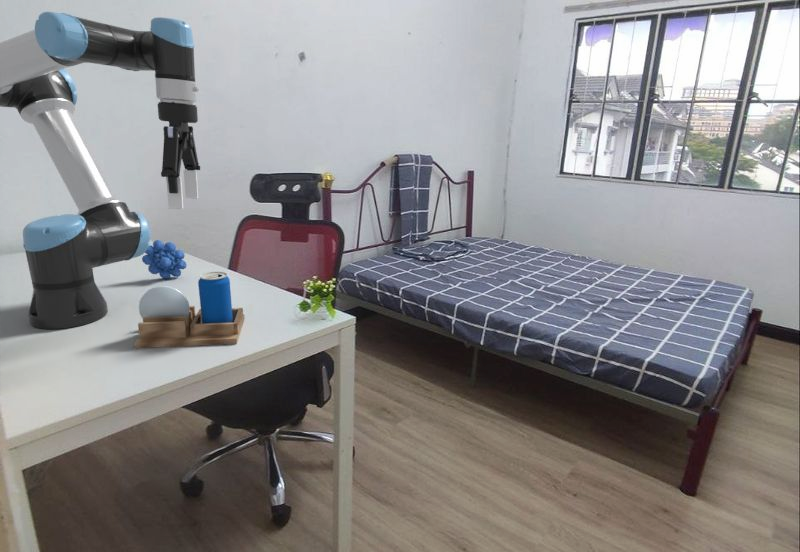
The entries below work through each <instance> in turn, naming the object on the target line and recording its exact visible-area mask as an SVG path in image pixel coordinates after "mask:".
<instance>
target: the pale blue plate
mask: <svg viewBox="0 0 800 552" xmlns="http://www.w3.org/2000/svg"><path fill="white" fill-rule="evenodd" d="M190 306H191V305H190V303H189V300H188V298H187V297H186V296H185V294H184V293H183V292H181V291H180V290H179V289H177V288H175V287H173V286H168V285H158V286H154V287H152V288H150V289H149V290H147V291H146V292H144V294H143V295H142V296H141V298H140V300H139V304H138V310H139V311H138V312H139V314H140V317H141V319H143V318H144V317H163V316H188V315H189V311H190Z"/></svg>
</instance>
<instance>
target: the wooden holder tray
mask: <svg viewBox="0 0 800 552" xmlns="http://www.w3.org/2000/svg"><path fill="white" fill-rule="evenodd" d="M189 306H190V311H189V315H188V316H163V317H144V318H142V322H138V324H137V327H138V335H139V337H138V338H137V340H135V342H134V345H135V349H143V348H144V349H147V348H149V349H150V348H171V347H189V346H190V347H192V346H194V347H195V346H212V345H232V344H233V345H235V344H238V342H239V338H240V335H241V332H242V328H243V326H244V322H245V318H246V317H245V313H244V311H243V310H244V309H243V307H232V316H233V322H232V323H206V324H202V316H201V308H199V309H198V311H197V313H196V306H195V305H189Z"/></svg>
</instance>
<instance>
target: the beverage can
mask: <svg viewBox="0 0 800 552" xmlns="http://www.w3.org/2000/svg"><path fill="white" fill-rule="evenodd" d="M197 285H198V293H199V303H200V304H199V305H200V306H199V307H200V309H201V316H202V324H206V323H232V322H233V316H232V308H233V306H232V305H233V304H232V292H231V280H230V278H229V277H228V273H226V272H224V271H208V272H205V273H204V272H203V273H202V274H200V275H199V278H198V282H197Z"/></svg>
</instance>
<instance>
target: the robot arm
mask: <svg viewBox="0 0 800 552" xmlns="http://www.w3.org/2000/svg"><path fill="white" fill-rule="evenodd" d="M194 49H195V44H194V39H193V30H192V27H191V25H190V24H189V23H187V22H186V21H183V20H179V19H175V18H171V17H153V18H152V19H151V20H150V28H149V30H133V29H129V28H125V27H120V26H116V25H112V24H107V23H103V22H99V21H96V20H95V21H94V20H90V19H87V18H83V17H79V16H73V15H72V14H69V13H64V12H63V13H62V12H54V11H43V12H42V13H40V14H39V15H38V19H36V20H35V23H34V29H32V30H30V31H28V32H25V33H22V34H19V35H16V36H14V37H11V38H9V39H6V40H3V41H0V107H1V108H15V109H16V111H17V112H18V113H19V116H20V118H21V119H22V120H23V121H24V122H26V123H28V124H31V125H33V127H34V128H35V131H36V133H37V134H38V136H39V138H40V140H41V142H42V143H43V146H44V147H45V150H46V151H47V153H48V155H49V157H50V159H51V160H52V163H53V165H54V166H55V168H56V170H57V172H58V174H59V175H60V177H61V179H62V181H63V183H64V184H65V186H66V188H67V190H68V192H69V195H70V196H71V198H72V200H73V202H74V203H75V205H76V207H77V209H78V212H77V213H76V214H61V215H52V216H47V217H43V218H39V219H36V220H33V221H31V222H29V223H27V224H26V225H25V226H24V228H23V230H22V241H23V248H24V251H25V256H26V261H27V265H28V270H29V275H30V280H31V284H32V288H33V289H32V290H33V291H32V295H31V300H30V305H29V310H28V319H29V323H30V326H32V327H34V328H36V329H44V330H45V329H46V330H60V329H68V328H75V327H80V326H83V325H84V326H85V325H87V324H91V323H94V322H95V321H98V320H100V319H102V318H104V317H105V316H106V315H107V314H108V311H109V310H108V309H109V308H108V303H107V301H106V299H105V298H104V296H103V294H102V292H101V290H100V289H99V287H98V285H97V284H96V282H95V277H94V271H93V270H94V268H98V267H102V266H107V265H110V264H115V263H119V262H123V261H125V262H126V261H130V260H132V259H135V258H138V257H141V256H143V255H144V254H146V253H145V252H146V250H147V249H148V247H149V245H150V243H151V228H150V226H149V223H148V220H147V219H146V218H145V216H144V215H142V214H141V213H140V212H136V211H130V209H129V206H128V205H127V203H126V202H125V201H123V200H121V199H118V198H116V196H115V194H114V193H113V190H112V189H111V187H110V184H109V183H108V181H107V179H106V177H105V175H104V173H103V171H102V170H101V168H100V166H99V164H98V162H97V160H96V159H95V156H94V155H93V153H92V151H91V149H90V147H89V145H88V143H87V142H86V139H85V137H84V135H83V133H82V132H81V130H80V128H79V126H78V124H77V122H76V120H75V118H74V117H73V114H74V113H75V111H76V107H75V106H76V104H77V101H78V93H76V91H77V87H76V84H75V81H74V80H73V78H72V76H71V75H70V74H69V72H68V71H67V70H66V68H70V67H74V66H78V65H80V64H81V65H82V64H84V63H85V64H86V63H87V64H95V65H102V66H109V67H116V68H120V69H122V70H125V71H126V70H127V71H133V72H139V71H145V72H147V71H149V72H150V71H151V72H152V71H154V72H155V73H154V77H155V79H154V80H155V92H156V99H158V100H159V102H158V103H157V115H158V119H159V121H162V122H168V123H169V124H168V126H167V125H166V126H165V125H164V126H163V129H162V130H163V148H162V149H163V150H162V151H163V152H162V166H161V167H162V168H161V172H160V176H161V178H162V177H163V178H166V179H165V180H166V181H165V182H166V190H167V191H166V193H167V204H168V205H167V206H168V209H171V210H172V209H173V210H183V209H184V199H183V197H185V199H193V200H194V199H197V200H198V199H199V190H198V189H199V188H198V187H199V186H198V175H197V174H198V172H197V171H201V166H200V162H199V160H198V159H199V158H198V153H197V148H196V142H195V138H194V128H193V125H192V126H191V125H189V124H196V123H198V121H199V119H198V118H199V117H198V106H197V105H195V104H194V103H195V102H197V94H196V93H197V92H199V91H200V90H199V87H198V86H196V70H195V51H194ZM182 164H183V167H184V170H183V181H184V182H182V177H180V176H181V175H180V172H181V167H182ZM182 183H183V184H184V194H183V184H182ZM184 195H185V196H184Z"/></svg>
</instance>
